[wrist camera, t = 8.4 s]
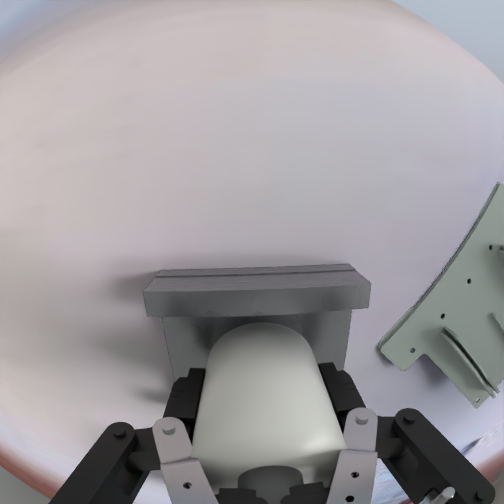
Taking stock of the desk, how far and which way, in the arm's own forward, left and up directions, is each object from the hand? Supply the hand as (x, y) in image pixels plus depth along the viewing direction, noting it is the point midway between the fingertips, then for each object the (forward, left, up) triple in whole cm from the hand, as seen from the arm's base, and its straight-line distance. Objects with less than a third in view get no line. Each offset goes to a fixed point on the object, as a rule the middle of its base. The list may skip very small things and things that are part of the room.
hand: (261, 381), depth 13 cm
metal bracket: (-17, -1, -4) cm, 18 cm away
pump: (0, 0, -1) cm, 1 cm away
